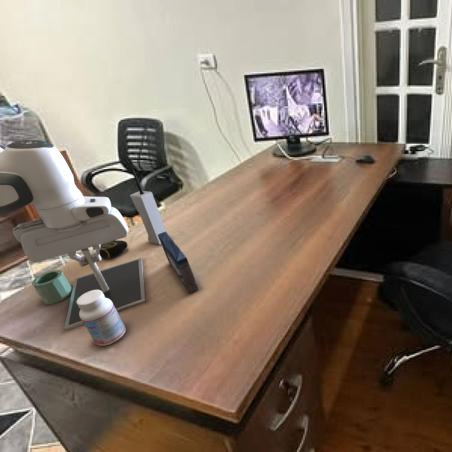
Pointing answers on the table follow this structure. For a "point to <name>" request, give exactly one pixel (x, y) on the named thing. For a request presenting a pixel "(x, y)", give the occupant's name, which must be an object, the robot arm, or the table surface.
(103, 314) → the pill bottle
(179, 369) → the table surface
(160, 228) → the vintage mobile phone
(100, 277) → the stylus
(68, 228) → the robot arm
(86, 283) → the tablet
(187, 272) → the vhs cassette tape
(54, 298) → the pen cup
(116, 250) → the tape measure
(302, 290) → the table surface
